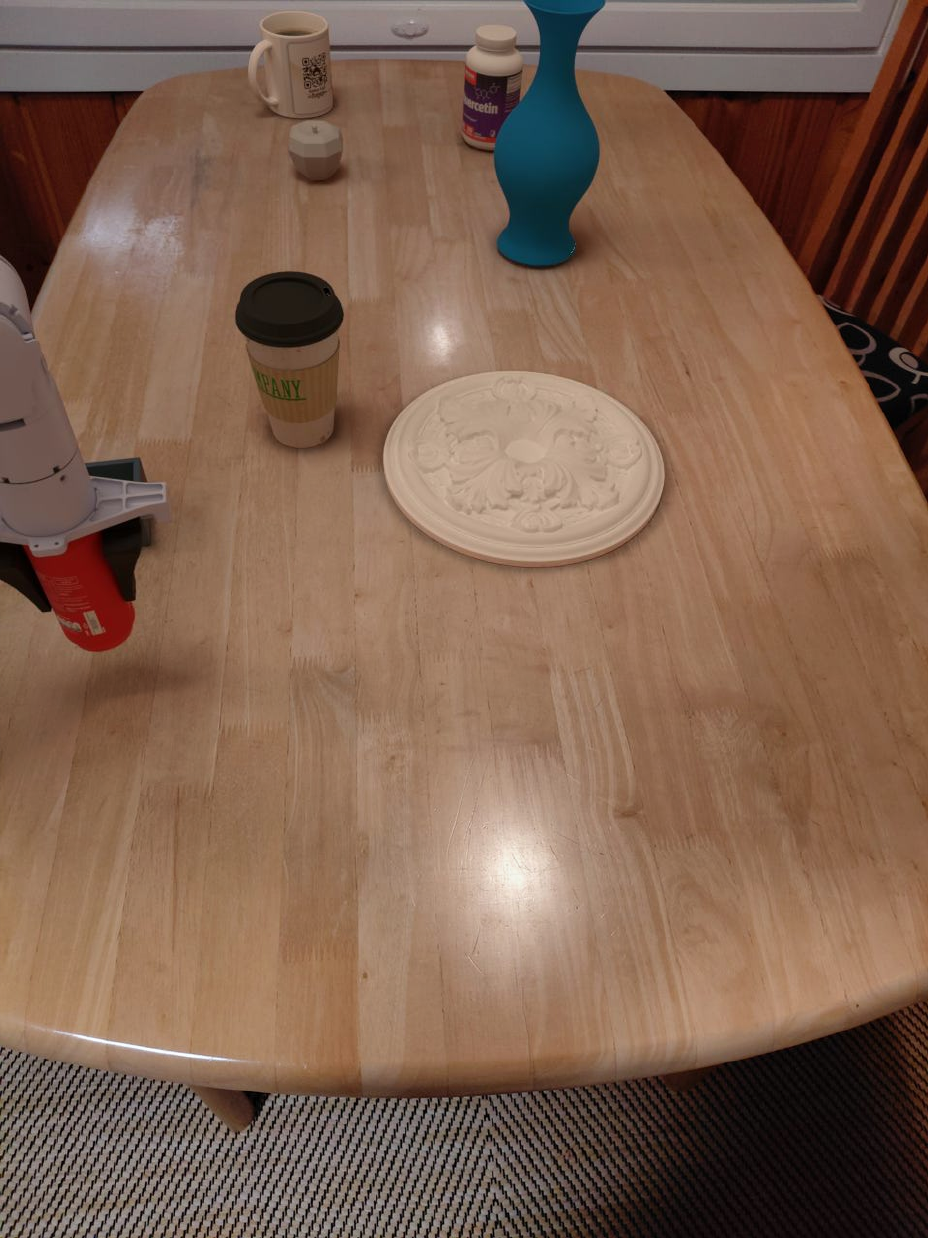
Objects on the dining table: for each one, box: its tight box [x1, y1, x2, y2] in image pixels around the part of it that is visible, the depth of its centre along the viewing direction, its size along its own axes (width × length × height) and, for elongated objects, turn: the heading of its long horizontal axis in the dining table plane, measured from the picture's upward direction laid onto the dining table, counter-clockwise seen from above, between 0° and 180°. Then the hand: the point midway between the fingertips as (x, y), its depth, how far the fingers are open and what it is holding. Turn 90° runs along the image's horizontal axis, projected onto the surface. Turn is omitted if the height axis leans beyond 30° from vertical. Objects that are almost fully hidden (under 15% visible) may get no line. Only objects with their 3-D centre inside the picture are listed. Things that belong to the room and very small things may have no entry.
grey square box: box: [84, 456, 152, 547], centre depth 84 cm, size 7×7×4 cm
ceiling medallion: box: [382, 370, 666, 568], centre depth 92 cm, size 28×28×3 cm
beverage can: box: [22, 529, 136, 653], centre depth 65 cm, size 5×5×12 cm
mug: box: [247, 10, 334, 119], centre depth 137 cm, size 10×12×11 cm
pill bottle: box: [461, 23, 524, 152], centre depth 132 cm, size 8×8×14 cm
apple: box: [287, 119, 344, 181], centre depth 126 cm, size 8×8×7 cm
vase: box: [493, 0, 607, 268], centre depth 108 cm, size 12×13×28 cm
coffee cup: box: [234, 270, 345, 449], centre depth 89 cm, size 10×10×15 cm
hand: (88, 596), depth 67 cm, fingers closed on beverage can, 5 cm apart
